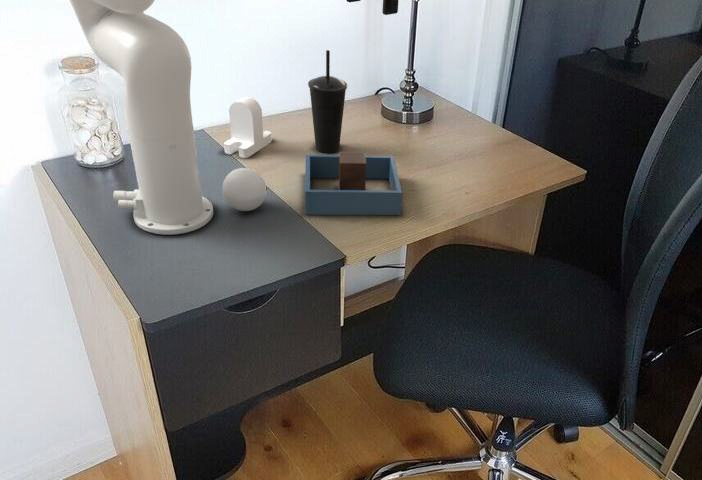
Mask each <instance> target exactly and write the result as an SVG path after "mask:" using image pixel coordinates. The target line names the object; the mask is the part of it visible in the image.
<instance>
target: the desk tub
mask: <svg viewBox="0 0 702 480" xmlns="http://www.w3.org/2000/svg"><path fill="white" fill-rule="evenodd" d="M365 158H366V179H367V180H388V183H389V187H390V190H379V189H377V190H376V189H375V190H373V189H372V190H371V189H369V190H368V189H365V190H339V189H311V179H339V154H305V171H304V173H305V174H304V175H305V179H304V203H305V206H304V207H305V208H304V209H305V215H306V216H307V215H315V216H316V215H318V216H319V215H321V216H323V215H324V216H326V215H327V216H331V215H334V216H335V215H336V216H401V212H402V200H403V191H402V187H401V181H400V177H399V174H398V169H397V163H396V160H395V156H394V155H365Z"/></svg>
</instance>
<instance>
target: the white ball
mask: <svg viewBox="0 0 702 480" xmlns="http://www.w3.org/2000/svg"><path fill="white" fill-rule="evenodd" d="M266 184H267V183H266V181H265V180H264V178H263V177H262V175H261V174H260V173H259V172H257V171H256V170H254V169H252V168H248V167H240V168H235V169H233V170H232V171H230V172H229V173H228V174H227V173H226V176H225V178H224V180H223V183H222V187H221V192H222V195H223V198H224V201H225V202H227V204H228V205H229V206H230V207H231V208H232V209H235V210H237V211H240V212H250V211H253V210H256V209H258V208H259V207H260V206H261V205H262V204H263V202H264V201H265V199H266V195H267V191H268V187H267V185H266Z"/></svg>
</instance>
